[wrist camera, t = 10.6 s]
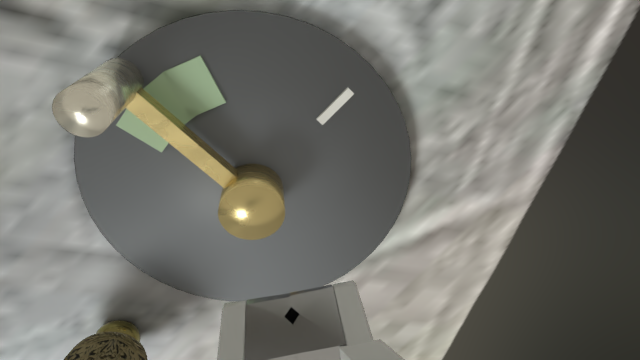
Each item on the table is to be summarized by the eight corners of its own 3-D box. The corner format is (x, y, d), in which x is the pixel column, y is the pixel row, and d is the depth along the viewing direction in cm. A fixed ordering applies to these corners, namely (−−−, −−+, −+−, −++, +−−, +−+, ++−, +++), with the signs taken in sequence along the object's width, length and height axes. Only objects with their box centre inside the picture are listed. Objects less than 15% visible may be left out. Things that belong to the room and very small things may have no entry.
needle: (295, 190, 28) (302, 242, 23) (253, 224, 30) (250, 281, 24) (128, 37, 22) (86, 62, 17) (81, 88, 23) (28, 126, 18)
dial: (269, 330, 38) (269, 338, 37) (13, 197, 27) (5, 205, 26) (466, 168, 31) (472, 174, 30) (224, -91, 20) (222, -93, 20)
